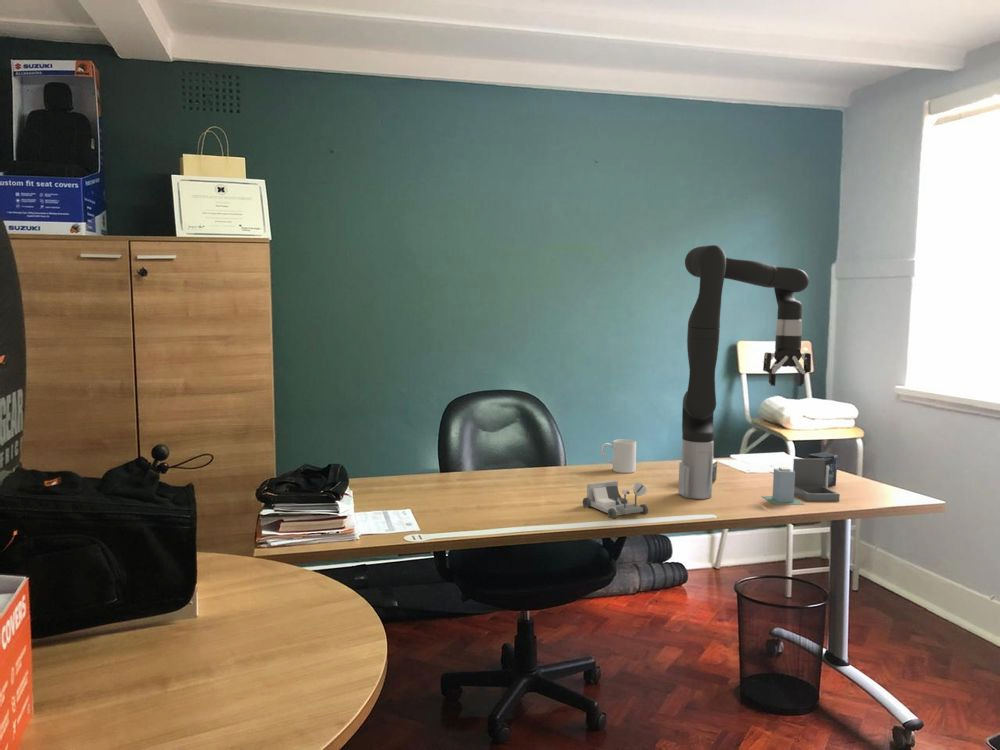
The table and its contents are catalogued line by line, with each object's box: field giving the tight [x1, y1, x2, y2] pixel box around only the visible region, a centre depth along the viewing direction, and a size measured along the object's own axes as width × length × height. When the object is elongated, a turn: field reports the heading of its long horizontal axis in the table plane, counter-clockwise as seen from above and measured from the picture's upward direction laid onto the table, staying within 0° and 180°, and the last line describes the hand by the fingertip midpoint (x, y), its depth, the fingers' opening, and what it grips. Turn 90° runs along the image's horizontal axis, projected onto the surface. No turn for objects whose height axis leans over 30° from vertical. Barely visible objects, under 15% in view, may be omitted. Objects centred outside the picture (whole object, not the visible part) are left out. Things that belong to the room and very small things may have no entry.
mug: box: [601, 438, 637, 474], centre depth 258 cm, size 12×8×10 cm, turn 97°
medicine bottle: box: [712, 447, 718, 485], centre depth 244 cm, size 7×7×12 cm
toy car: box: [582, 479, 649, 520], centre depth 207 cm, size 18×10×12 cm
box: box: [808, 451, 838, 488], centre depth 239 cm, size 8×6×11 cm
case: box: [792, 458, 841, 502], centre depth 224 cm, size 11×11×11 cm
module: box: [772, 466, 795, 502], centre depth 219 cm, size 4×4×10 cm
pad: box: [761, 495, 805, 506], centre depth 220 cm, size 9×9×1 cm
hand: (786, 385), depth 232 cm, fingers open, 8 cm apart
